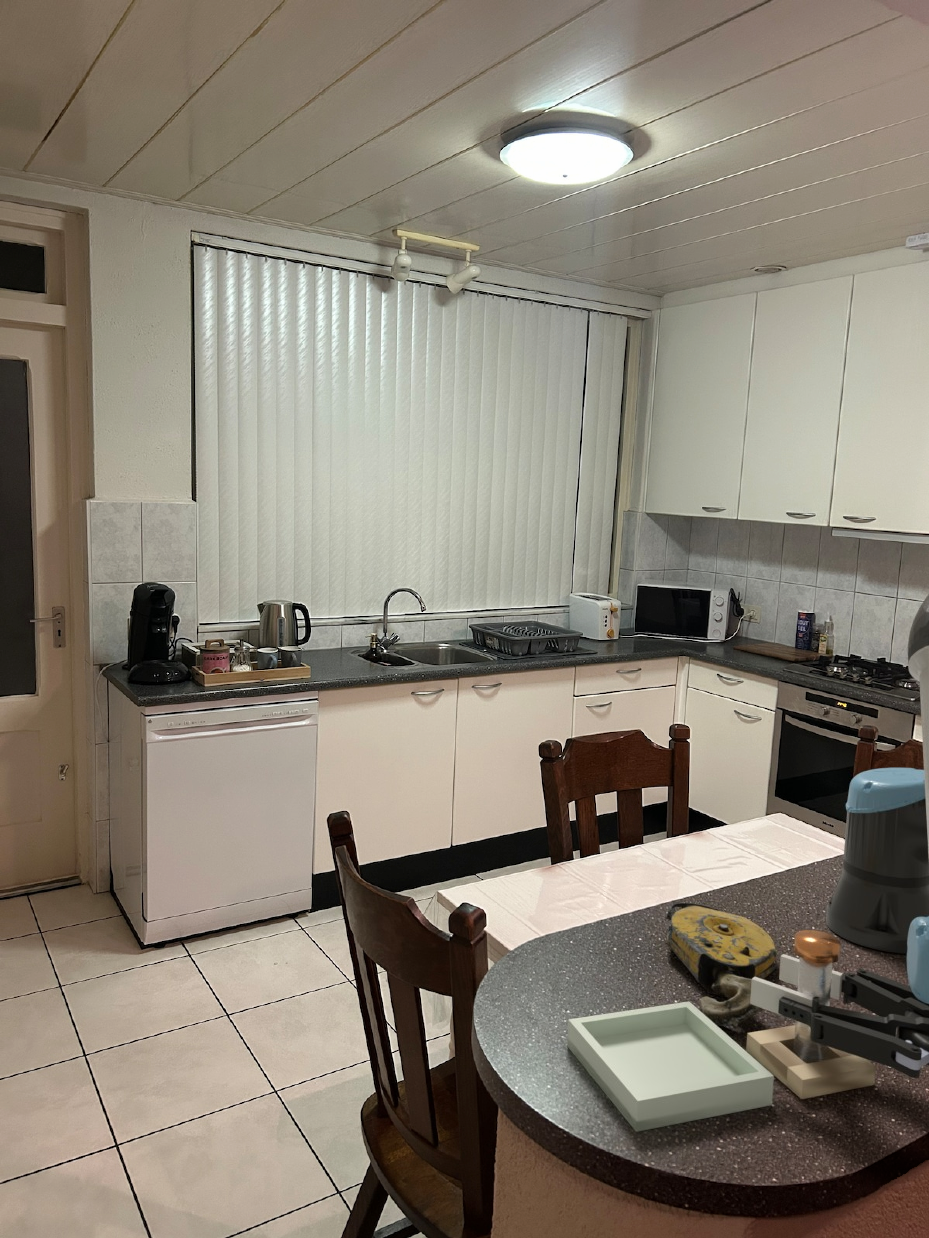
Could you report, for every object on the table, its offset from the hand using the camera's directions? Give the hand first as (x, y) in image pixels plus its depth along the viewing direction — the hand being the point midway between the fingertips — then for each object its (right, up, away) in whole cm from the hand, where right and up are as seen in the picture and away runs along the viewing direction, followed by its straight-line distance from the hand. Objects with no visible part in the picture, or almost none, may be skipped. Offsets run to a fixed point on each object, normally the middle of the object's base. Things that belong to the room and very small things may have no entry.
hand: (767, 978), depth 100 cm
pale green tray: (-12, -8, -5) cm, 15 cm away
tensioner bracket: (+3, -8, -3) cm, 9 cm away
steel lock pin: (+3, -8, -3) cm, 9 cm away
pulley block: (0, -7, +17) cm, 19 cm away
